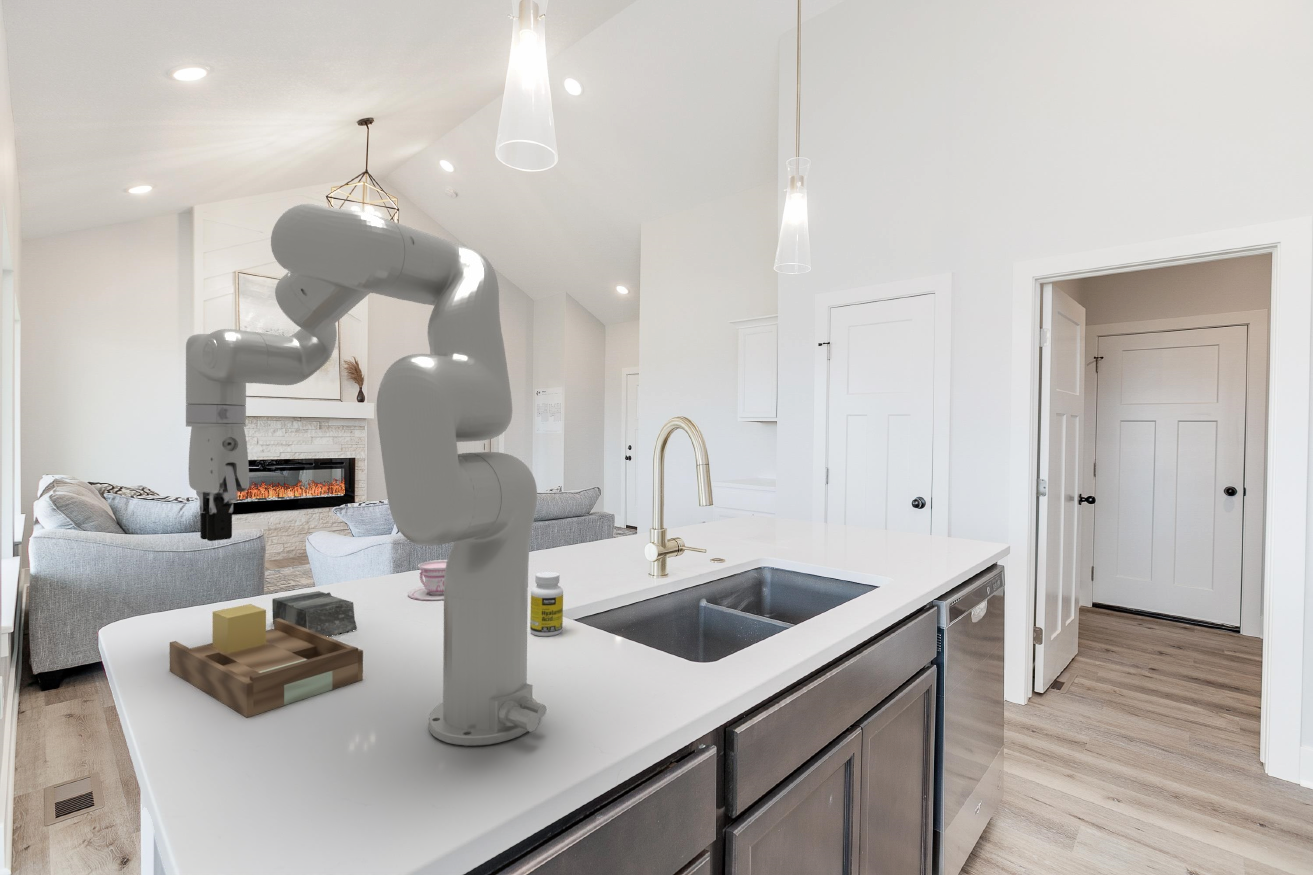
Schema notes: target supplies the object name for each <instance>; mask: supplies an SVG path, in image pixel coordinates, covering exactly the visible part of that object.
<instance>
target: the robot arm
mask: <svg viewBox="0 0 1313 875" xmlns="http://www.w3.org/2000/svg"><path fill="white" fill-rule="evenodd" d="M270 247H271V252H272V255H273V257H274V259H275V260H276V261H277V263H278V265H279V266H281V267H282V268H283V269H285V271H288V272H286V273H285V274H284V275H283V276H281V278H280V279H279V280H278V281H277V283H276V286H275V289H274V296H275V299H276V302H277V304H278V306H279V308H280V310H281V311H282V313H283V314H284V315H285V316H286V317H287V319H289V320H290V321H291V322H292V323H293V324H295V325H296V326H297V327H298V328H300V329H298V330H297V331H296V332H294V333H293V334H292V335H290V336H285V335H281V334H280V335H279V334H273V333H263V332H256V331H247V330H241V329H240V330H239V329H233V328H222V329H217V330H215V331H213V332H210V333H196V334H193V335H191V336H189V337H188V338H187V340H186V343H185V427H187V428H188V427H190V428H191V430H190V438H189V447H188V448H189V450H188V484H189V487H190V488H191V489H192V490H194V491H196V493H195V494H196V496H197V497H198V499H199V512H200V518H199V519H200V520H199V521H200V523H199V524H200V534H199V535H200V539H201V540H206V541H208V542H213V541H224V540H230V539H232V537H233V512H234V502H236V501H237V500H238V497H239V496H238V493H240V492H241V493H242V492H247V490H248V489H249V487H250V469H249V467H250V466H249V454H248V453H249V451H248V443H247V436H246V431H245V428H246V427H247V424H246V423H247V384H260V385H261V384H262V385H274V386H276V385H277V386H293V385H297V384H301V383H302V382H304V381H306V380H308V379H309V378H310V377H312V376H313V375H314V374H315V373H317V372H318V371H319V370H320V369H322V368H323V367H324V366H325V365H326V364H327V363H328V361H329V360H330V359H331V358H332V355H333V352H334V350H335V348H336V342H337V337H338V336H337V335H338V334H337V333H338V332H337V322H338V321H340V320H341V319H342V318H343V317H345V315H347V314H348V313H349V312H350V311H351V310H352V309H354V308H355V307H356V306H357V305H358V304H359V303H360V302H362V301H363V300H364V299H366V298H367V296H368V295H369V294H376V295H380V296H384V297H389V298H393V299H397V300H401V301H408V302H412V303H417V304H420V305H429V306H433V309H432V310H431V313H430V316H429V320H428V324H427V341H428V345H429V354H428V353H412V354H408V355H405V356H403V357H401V358H399V359H397V360H396V361H394V362H393V363H392V364H391V365H390V366H389V367H388V369H386V372H385V373H384V374H383V377H382V379H381V381H380V384H379V388H378V391H377V397H376V418H377V429H378V436H379V443H380V444H379V445H380V451H381V457H382V466H383V474H384V482H385V489H386V497H387V502H388V507H389V510H390V515H391V517H392V520H393V523H394V524H395V526H396V528H397V529H398V531H399V533H400V534H401V535H402V536H403V537H404V538H405V539H407V540H408V541H409V542H410V543H414V544H415V545H419V546H423V547H425V546H426V547H434V546H440V545H446V544H452V545H451V547H450V550H449V552H448V556H447V559H446V560H447V563H446V568H445V577H444V594H443V595H444V600H443V650H442V652H443V654H442V655H443V660H442V661H443V662H442V663H443V665H442V667H443V668H442V670H443V671H442V672H443V673H442V676H443V677H442V703H439V704H438V705H437V706H435V708H434V709H433V710H432V711H431V712H430V713H429V716H428V729H429V732H430V733H431V735H432V736H433V737H434V738H436V739H438V740H439V741H442V742H444V743H447V744H452V745H457V746H468V747H469V746H488V745H493V744H499V743H503V742H507V741H510V740H513V739H515V738H518V737H520V736H522V735H524V734H526V733H527V732H530V733H532V732H534V731H535V730H536V729H537V727H538V726H539V724H540V719H541V718H543V717H545V715H546V712H547V706H546V705H545V704H542V703H541V702H540V703H539V702H538V701H537V700H536V699H535V698H533V684H530V683H528V682H527V681H528V678H527V677H528V672H527V671H528V601H529V600H528V597H529V596H528V595H529V594H528V593H529V589H528V588H529V560H530V559H529V558H530V547H531V538H532V532H533V527H534V521H535V516H536V511H537V503H538V488H537V484H536V480H535V477H534V474H533V472H532V471H531V469H530V468H529V466H528V465H527V464H526V463H525V462H523V461H522V460H521V459H519V458H518V457H516V456H514V455H511V454H509V453H505V452H499V451H498V452H497V451H480V452H477V451H475V452H463V453H458V445H457V444H458V443H462V442H463V443H467V442H481V441H488V440H492V439H494V438H497V437H499V436H501V435H503V433H504V432H506V431H507V429H508V428H509V426H510V424H511V421H512V417H513V401H512V392H511V386H510V385H511V384H510V379H509V370H508V363H507V357H506V349H505V342H504V338H503V333H502V325H501V324H502V323H501V317H500V316H501V313H500V293H499V292H500V290H499V282H498V277H497V273H496V272H495V269H494V267H493V265H492V264H491V262H490V261H489V259H488V258H487V257H486V256H485V255H484V254H482V252H479V251H477V250H476V249H473V248H472V247H468V246H466V245H463V244H459V243H456V242H454V241H450V240H448V239H445V238H441V237H439V236H436V235H433V234H430V233H427V232H424V231H421V230H419V229H416V228H412V227H409V226H407V225H404V224H402V223H399V222H396V221H393V220H390V219H388V218H384V217H381V216H379V215H375V214H372V213H368V212H363V211H357V210H352V209H351V210H350V209H343V208H339V207H338V208H337V207H332V206H331V207H330V206H324V205H319V204H314V203H313V204H312V203H304V204H303V203H302V204H298V205H297V204H296V205H294V206H292V207H291V208H289V209H288V210H286V211H285V212H283V213H282V214H281V216H280V217H279V218H278V219H277V220H276V222H275V224H274V226H273V228H272V231H271V236H270Z"/></svg>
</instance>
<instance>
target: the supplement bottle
mask: <svg viewBox="0 0 1313 875" xmlns="http://www.w3.org/2000/svg"><path fill="white" fill-rule="evenodd" d="M559 584H560V573H558V572H554V571H542V572H537V573H536V574H535V586H533V588H531V590H530V622H529V624H530V625H529V630H530V633H531V634H532V635H535V636H538V637H551V636H552V637H553V636H557V635H559V634H561V632H563V624H564V623H563V622H564V621H563V620H564V610H563V609H564V590H563V588H562V587H561V586H560V585H559Z"/></svg>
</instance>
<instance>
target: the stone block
mask: <svg viewBox="0 0 1313 875" xmlns="http://www.w3.org/2000/svg"><path fill="white" fill-rule="evenodd" d="M271 602H272V605H271V606H272V609H271V610H272V611H271V612H272V623H273V625H274V619H277V618H280V619H282V620H285V621H288V622H290V623H293V624H295V625H298V626H301V627H303V628H306V629H308V630H311V631H314V632H316V633H319V634H322V635H324V636H331V637H333V636H332V635H335V636H338V635H341V634H340V633H342V634H344V633H346V632H349V631H352V632H354V631H353V630H356V631H357V628H358V627H357V622H356V619H355V606H354V601H350V600H347V599H345V598H344V599H343V598H340V597H337V596H334V595H332V594H331V592H323V591H319V590H317V591H312V592H305V593H298V594H292V595H287V596H282V597H281V596H279V597H274V598H272V600H271ZM337 634H338V635H337Z"/></svg>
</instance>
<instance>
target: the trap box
mask: <svg viewBox="0 0 1313 875" xmlns="http://www.w3.org/2000/svg"><path fill="white" fill-rule="evenodd" d="M169 672H171V673H172V674H174V675H176V676H178V677H179V678H181V679H183V681H185V682H188V683H189V684H191V685H192V686H194V687H196V688H197V689H199V690H201V691H202V692H204V693H205V694H207V695H209V697H212V698H213V699H215V700H217V701H218V702H221V704H223V705H225V706H227V707H229V708H230V709H232V710H234V711H235V712H237V713H238V714H240V715H242V716H244V717H245V718H251V717H253V716H256V715H259V714H262V713H265V712H268V711H271V710H275V709H278V708H281V707H284V706H286V705H289V704H293V703H295V702H298V701H301V700H304V699H308V698H310V697H315V696H317V695H320V694H324V693H326V692H327V693H328V692H329V691H333V690H335V689H339V688H341V687H344V686H348V685H351V684H353V683H357V682H361V681H362V680H364V673H363V672H364V650H363V649H362V648H358V647H356V646H353V645H350V644H348V643H345V642H342V641H339V640H337V639H335V638H332V637H327V636H324V635H322V634H319V633H316V632H314V631H311V630H308V629H306V628H303V627H301V626H298V625H295V624H293V623H290V622H288V621H285V620H282V619H280V618H277V619H274V624H273V628H271V629H266V644H264V645H260V646H256V647H252V648H248V649H244V650H240V651H236V652H232V653H228V654H227V653H225V652H223V651H221V650H219V649H217V648H215V647H213V642H211V643H210V642H209V643H207V644H206V643H205V644H203V645H199V646H194V647H188V646H187V645H184V644H182V643H181V642H178V641H177V640H175V641H173V640H172V641H170V642H169Z"/></svg>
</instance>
